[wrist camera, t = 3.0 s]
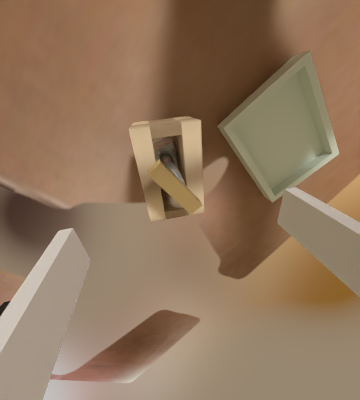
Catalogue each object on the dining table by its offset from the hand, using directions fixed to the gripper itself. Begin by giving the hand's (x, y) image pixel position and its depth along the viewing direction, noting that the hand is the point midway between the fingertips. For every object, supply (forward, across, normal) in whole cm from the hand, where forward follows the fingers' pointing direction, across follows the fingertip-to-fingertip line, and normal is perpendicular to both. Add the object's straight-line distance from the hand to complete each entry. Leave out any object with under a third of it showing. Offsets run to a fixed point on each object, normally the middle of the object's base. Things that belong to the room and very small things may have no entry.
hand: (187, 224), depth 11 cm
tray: (+18, +19, 0) cm, 26 cm away
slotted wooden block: (+14, 0, 0) cm, 14 cm away
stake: (+18, 0, 0) cm, 18 cm away
